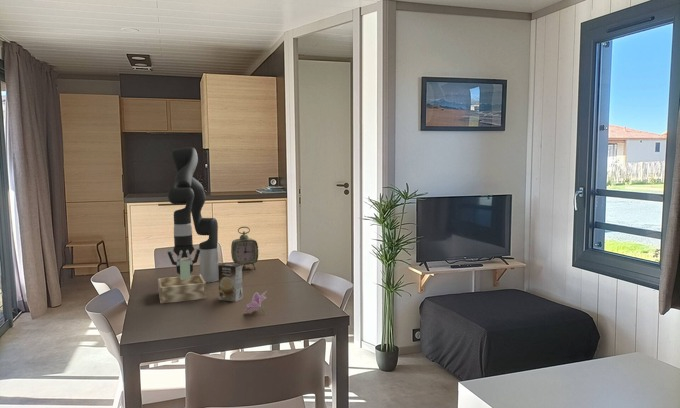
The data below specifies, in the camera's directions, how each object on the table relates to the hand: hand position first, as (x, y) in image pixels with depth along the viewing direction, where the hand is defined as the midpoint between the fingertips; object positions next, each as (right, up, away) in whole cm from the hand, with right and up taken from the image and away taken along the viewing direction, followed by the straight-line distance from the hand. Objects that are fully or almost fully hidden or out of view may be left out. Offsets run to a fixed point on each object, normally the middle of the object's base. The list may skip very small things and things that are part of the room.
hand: (184, 273), depth 220 cm
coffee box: (+18, -14, +11) cm, 25 cm away
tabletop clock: (+12, -8, +77) cm, 78 cm away
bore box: (-7, -13, +19) cm, 24 cm away
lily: (+33, -15, -11) cm, 38 cm away
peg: (0, -2, 0) cm, 2 cm away
